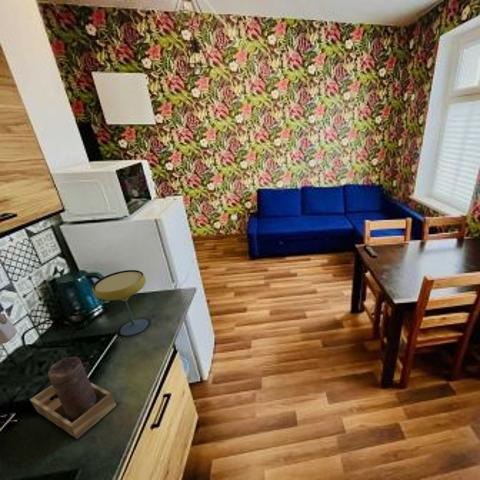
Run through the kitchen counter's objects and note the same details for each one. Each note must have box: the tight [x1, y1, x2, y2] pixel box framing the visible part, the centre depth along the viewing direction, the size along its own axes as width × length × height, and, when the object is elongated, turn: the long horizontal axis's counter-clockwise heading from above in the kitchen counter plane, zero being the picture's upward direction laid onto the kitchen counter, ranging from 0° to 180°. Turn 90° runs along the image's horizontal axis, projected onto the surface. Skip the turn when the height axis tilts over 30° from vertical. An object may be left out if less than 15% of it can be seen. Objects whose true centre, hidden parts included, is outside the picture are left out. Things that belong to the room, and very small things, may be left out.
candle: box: [47, 356, 98, 423], centre depth 80 cm, size 8×7×20 cm
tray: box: [29, 381, 117, 440], centre depth 85 cm, size 21×11×6 cm, turn 68°
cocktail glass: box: [91, 269, 149, 337], centre depth 116 cm, size 18×18×25 cm
